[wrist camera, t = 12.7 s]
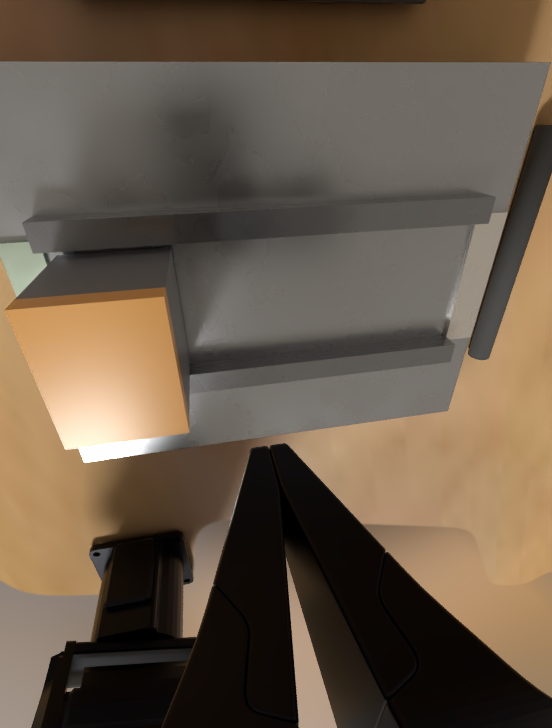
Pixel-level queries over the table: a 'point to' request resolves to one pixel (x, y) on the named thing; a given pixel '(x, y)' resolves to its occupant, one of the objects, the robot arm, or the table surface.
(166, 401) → the toggle
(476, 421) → the table surface
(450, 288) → the panel
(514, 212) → the dark grey rod
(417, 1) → the charcoal thin cylinder
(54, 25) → the table surface
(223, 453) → the table surface
